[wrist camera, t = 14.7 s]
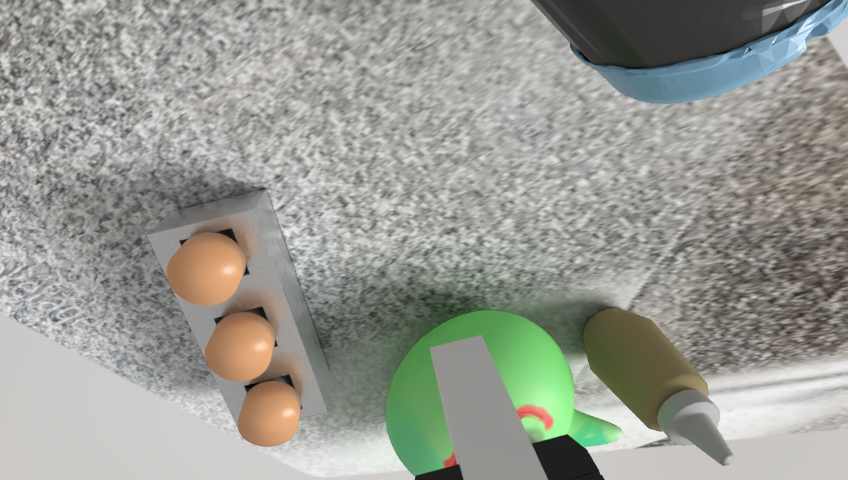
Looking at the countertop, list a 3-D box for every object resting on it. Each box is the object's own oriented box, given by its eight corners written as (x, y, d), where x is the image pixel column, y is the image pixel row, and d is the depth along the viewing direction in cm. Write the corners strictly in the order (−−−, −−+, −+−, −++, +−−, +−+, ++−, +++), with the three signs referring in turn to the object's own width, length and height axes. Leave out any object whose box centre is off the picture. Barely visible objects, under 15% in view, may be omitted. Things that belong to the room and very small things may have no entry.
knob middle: (222, 286, 43) (194, 337, 35) (275, 273, 43) (258, 321, 35) (241, 329, 44) (218, 388, 37) (291, 317, 45) (279, 372, 37)
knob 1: (192, 215, 40) (155, 254, 32) (248, 201, 40) (224, 237, 32) (213, 264, 42) (183, 312, 34) (267, 251, 42) (248, 296, 34)
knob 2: (249, 348, 45) (228, 409, 38) (298, 336, 46) (287, 394, 38) (265, 387, 47) (249, 452, 39) (312, 375, 47) (305, 437, 40)
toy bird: (480, 253, 46) (534, 337, 33) (573, 351, 52) (651, 455, 39) (349, 367, 49) (349, 488, 35) (453, 447, 55) (487, 576, 41)
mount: (174, 210, 40) (146, 234, 35) (266, 188, 41) (253, 209, 35) (253, 390, 48) (241, 434, 43) (330, 370, 48) (327, 411, 43)
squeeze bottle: (589, 372, 54) (696, 514, 37) (560, 324, 51) (662, 455, 34) (651, 335, 53) (788, 463, 36) (625, 284, 50) (762, 398, 33)
